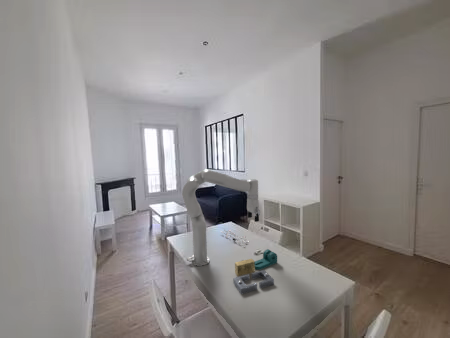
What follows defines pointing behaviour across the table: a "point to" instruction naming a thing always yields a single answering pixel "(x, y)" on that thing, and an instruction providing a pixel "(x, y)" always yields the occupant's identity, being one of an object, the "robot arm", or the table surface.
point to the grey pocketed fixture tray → (244, 289)
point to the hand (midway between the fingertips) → (253, 219)
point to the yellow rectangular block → (244, 267)
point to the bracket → (266, 260)
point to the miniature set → (236, 237)
